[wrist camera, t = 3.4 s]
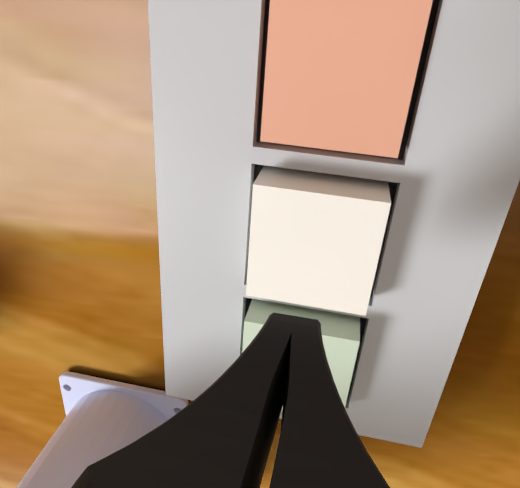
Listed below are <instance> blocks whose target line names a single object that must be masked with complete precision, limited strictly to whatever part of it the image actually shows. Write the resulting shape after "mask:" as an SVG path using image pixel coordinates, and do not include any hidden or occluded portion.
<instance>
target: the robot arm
mask: <svg viewBox="0 0 520 488" xmlns="http://www.w3.org/2000/svg"><path fill="white" fill-rule="evenodd" d="M59 382H60V387H61V392H62V397H63V402H64V407H65V412H66V418H65V419H64V420H63V422H62V423H61V425H60V426H59V427H58V429H57V430H56V432H55V433H54V435H53V436H52V437H51V439H50V440H49V442H48V443H47V444H46V446H45V447H44V449H43V450H42V452H41V453H40V454H39V456H38V457H37V459H36V460H35V461H34V463H33V464H32V466H31V467H30V468H29V470H28V471H27V473H26V474H25V476H24V477H23V478H22V480H21V481H20V483H19V484H18V485H17V487H16V488H260V484H261V480H262V476H263V473H264V469H265V466H266V462H267V459H268V455H269V452H270V448H271V445H272V441H273V438H274V434H275V431H276V427H277V424H278V420H279V417H280V413H281V410H282V406H283V410H282V422H281V434H280V439H279V444H278V449H277V454H276V459H275V464H274V469H273V474H272V479H271V483H270V488H390V487H389V486H388V484H387V483H386V481H385V479H384V478H383V476H382V475H381V473H380V471H379V470H378V468H377V467H376V465H375V464H374V462H373V460H372V459H371V457H370V456H369V454H368V452H367V451H366V449H365V447H364V445H363V443H362V442H361V440H360V438H359V436H358V434H357V432H356V430H355V428H354V426H353V424H352V422H351V420H350V418H349V416H348V414H347V412H346V410H345V407H344V405H343V403H342V400H341V398H340V395H339V393H338V390H337V388H336V385H335V382H334V379H333V376H332V373H331V370H330V367H329V364H328V361H327V357H326V353H325V349H324V345H323V340H322V333H321V323H320V322H319V321H318V320H317V319H310V318H304V317H298V316H292V315H286V314H280V313H272V314H271V315H269V317H268V319H267V321H266V322H265V324H264V325H263V327H262V328H261V330H260V331H259V333H258V334H257V335H256V336H255V338H254V339H253V340H252V342H251V343H250V344H249V345H248V347H247V348H246V349H245V350H244V351H243V353H242V354H241V355H240V356H239V357H238V358H237V360H236V361H235V362H234V363H233V364H232V365H231V366H230V367H229V368H228V369H227V370H226V371H225V372H224V373H223V374H222V375H221V376H220V377H219V378H218V379H217V380H216V381H215V382H214V383H213V384H212V385H211V386H210V387H209V388H208V389H206V390H205V391H204V392H203V393H202V394H201V395H199V396H198V397H197V398H196V399H195V400H194V401H192V402H191V403H190V404H188V400H187V399H182V398H178V397H173V396H168V395H166V391H162V390H157V389H152V388H147V387H142V386H137V385H132V384H128V383H123V382H118V381H113V380H108V379H103V378H98V377H93V376H89V375H84V374H79V373H74V372H69V371H65V372H63V373H62V374H61V375H60V377H59ZM179 408H180V409H179Z"/></svg>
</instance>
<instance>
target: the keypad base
mask: <svg viewBox="0 0 520 488" xmlns="http://www.w3.org/2000/svg"><path fill="white" fill-rule="evenodd" d="M269 8H270V0H148V13H149V35H150V57H151V79H152V101H153V124H154V146H155V168H156V190H157V212H158V234H159V256H160V278H161V300H162V322H163V344H164V367H165V389H166V395H168V396H173V397H178V398H182V399H187V400H192V401H194V400H195V399H196V398H197V397H198V396H199V395H201V394H202V393H203V392H204V391H205V390H206V389H208V388H209V387H210V386H211V385H212V384H213V383H214V382H215V381H216V380H217V379H218V378H219V377H220V376H221V375H222V374H223V373H224V372H225V371H226V370H227V369H228V368H229V367H230V366H231V365H232V364H233V363H234V362H235V361H236V360H237V358H238V357H239V356H240V355H241V354H242V347H243V331H244V320H245V317H246V315H247V312H248V309H249V306H250V304H251V301H252V299H257V300H263V301H269V302H275V303H281V304H286V305H292V306H298V307H304V308H310V309H316V310H321V311H327V312H333V313H339V314H345V315H351V316H356V317H360V343H359V348H358V352H357V357H356V361H355V366H354V370H353V374H352V379H351V383H350V388H349V392H348V396H347V401H346V405H345V410H346V412H347V414H348V416H349V418H350V420H351V422H352V424H353V426H354V428H355V430H356V432H357V434H358V435H361V436H366V437H371V438H376V439H381V440H386V441H390V442H395V443H400V444H405V445H410V446H415V447H419V448H422V446H423V443H424V440H425V438H426V435H427V432H428V429H429V427H430V424H431V421H432V418H433V416H434V413H435V410H436V408H437V405H438V402H439V399H440V397H441V394H442V391H443V388H444V386H445V383H446V380H447V377H448V375H449V372H450V369H451V367H452V364H453V361H454V358H455V356H456V353H457V350H458V347H459V345H460V342H461V339H462V336H463V334H464V331H465V328H466V325H467V323H468V320H469V317H470V315H471V312H472V309H473V306H474V304H475V301H476V298H477V295H478V293H479V290H480V287H481V284H482V282H483V279H484V276H485V274H486V271H487V268H488V265H489V263H490V260H491V257H492V254H493V252H494V249H495V246H496V243H497V241H498V238H499V235H500V233H501V230H502V227H503V224H504V222H505V219H506V216H507V213H508V211H509V208H510V205H511V202H512V200H513V197H514V194H515V191H516V189H517V186H518V183H519V181H520V0H433V2H432V6H431V11H430V15H429V20H428V24H427V29H426V33H425V38H424V42H423V47H422V51H421V56H420V60H419V65H418V69H417V74H416V78H415V83H414V87H413V92H412V96H411V101H410V105H409V110H408V114H407V119H406V123H405V128H404V132H403V137H402V141H401V146H400V150H399V155H398V158H391V157H383V156H375V155H367V154H359V153H351V152H343V151H335V150H327V149H319V148H310V147H302V146H294V145H286V144H278V143H270V142H262V141H260V137H261V123H262V109H263V94H264V80H265V65H266V51H267V37H268V22H269ZM264 165H265V166H273V167H281V168H288V169H296V170H304V171H311V172H319V173H327V174H334V175H342V176H350V177H357V178H365V179H373V180H380V181H388V185H389V192H390V198H391V207H390V211H389V215H388V220H387V224H386V229H385V233H384V237H383V242H382V246H381V251H380V255H379V260H378V264H377V268H376V273H375V277H374V282H373V286H372V290H371V295H370V299H369V304H368V308H367V313H366V316H363V315H357V314H352V313H346V312H340V311H334V310H328V309H322V308H317V307H311V306H305V305H299V304H293V303H287V302H282V301H276V300H270V299H264V298H258V297H252V296H246V285H247V269H248V254H249V238H250V223H251V207H252V192H253V183H254V182H255V180H256V178H257V177H258V175H259V173H260V171H261V170H262V168H263V166H264ZM279 419H282V411H281V413H280V417H279Z"/></svg>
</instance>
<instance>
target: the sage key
mask: <svg viewBox="0 0 520 488" xmlns="http://www.w3.org/2000/svg"><path fill="white" fill-rule="evenodd" d="M272 313H280V314H286V315H292V316H298V317H304V318H310V319H317V320H318V321H319V322H320V323H321V333H322V340H323V345H324V349H325V353H326V357H327V361H328V364H329V367H330V370H331V373H332V376H333V379H334V382H335V385H336V388H337V390H338V393H339V395H340V398H341V400H342V403H343V405H344V407H345V405H346V401H347V396H348V392H349V388H350V383H351V379H352V374H353V370H354V366H355V361H356V357H357V352H358V348H359V343H360V317H356V316H351V315H345V314H339V313H333V312H327V311H321V310H316V309H310V308H304V307H298V306H292V305H286V304H281V303H275V302H269V301H263V300H257V299H252V301H251V304H250V306H249V309H248V312H247V315H246V317H245V320H244V331H243V347H242V353H243V351H244V350H245V349H246V348H247V347H248V345H249V344H250V343H251V342H252V340H253V339H254V338H255V336H256V335H257V334H258V333H259V331H260V330H261V328H262V327H263V325H264V324H265V322H266V321H267V319H268V317H269V315H271V314H272ZM282 410H283V406H282ZM282 410H281V411H282Z"/></svg>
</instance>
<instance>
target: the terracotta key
mask: <svg viewBox="0 0 520 488" xmlns="http://www.w3.org/2000/svg"><path fill="white" fill-rule="evenodd" d="M432 2H433V0H270V8H269V22H268V37H267V51H266V65H265V80H264V94H263V109H262V123H261V137H260V141H262V142H270V143H278V144H286V145H294V146H302V147H310V148H319V149H327V150H335V151H343V152H351V153H359V154H367V155H375V156H383V157H391V158H398V155H399V150H400V146H401V141H402V137H403V132H404V128H405V123H406V119H407V114H408V110H409V105H410V101H411V96H412V92H413V87H414V83H415V78H416V74H417V69H418V65H419V60H420V56H421V51H422V47H423V42H424V38H425V33H426V29H427V24H428V20H429V15H430V11H431V6H432Z"/></svg>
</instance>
